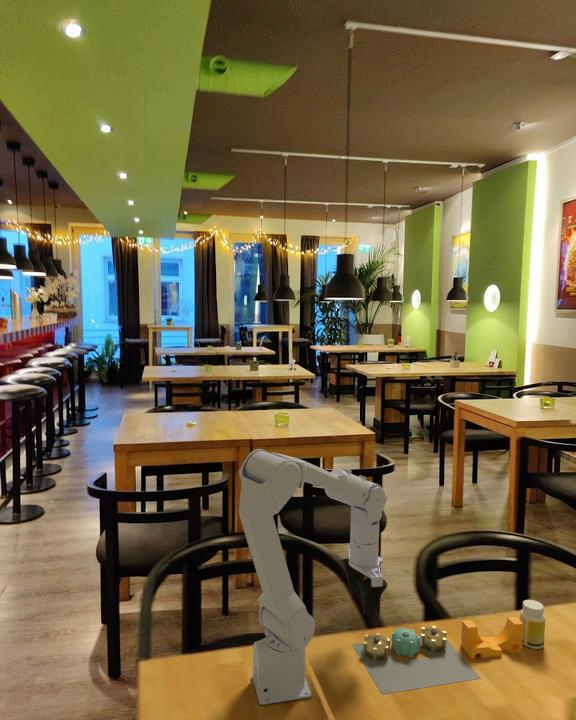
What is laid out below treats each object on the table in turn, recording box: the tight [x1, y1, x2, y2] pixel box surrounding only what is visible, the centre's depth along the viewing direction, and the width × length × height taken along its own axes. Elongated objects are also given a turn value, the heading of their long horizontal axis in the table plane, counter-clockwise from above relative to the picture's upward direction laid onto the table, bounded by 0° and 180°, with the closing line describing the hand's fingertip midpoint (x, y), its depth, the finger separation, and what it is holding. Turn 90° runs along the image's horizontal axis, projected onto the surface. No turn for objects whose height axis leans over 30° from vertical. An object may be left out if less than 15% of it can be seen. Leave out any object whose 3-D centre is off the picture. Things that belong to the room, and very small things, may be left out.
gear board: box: [351, 625, 482, 695], centre depth 105 cm, size 20×15×4 cm
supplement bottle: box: [519, 599, 546, 650], centre depth 113 cm, size 5×5×8 cm
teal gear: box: [391, 626, 420, 659], centre depth 108 cm, size 5×5×4 cm
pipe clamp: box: [460, 616, 523, 659], centre depth 109 cm, size 12×4×6 cm, turn 99°
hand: (362, 603), depth 110 cm, fingers open, 7 cm apart
